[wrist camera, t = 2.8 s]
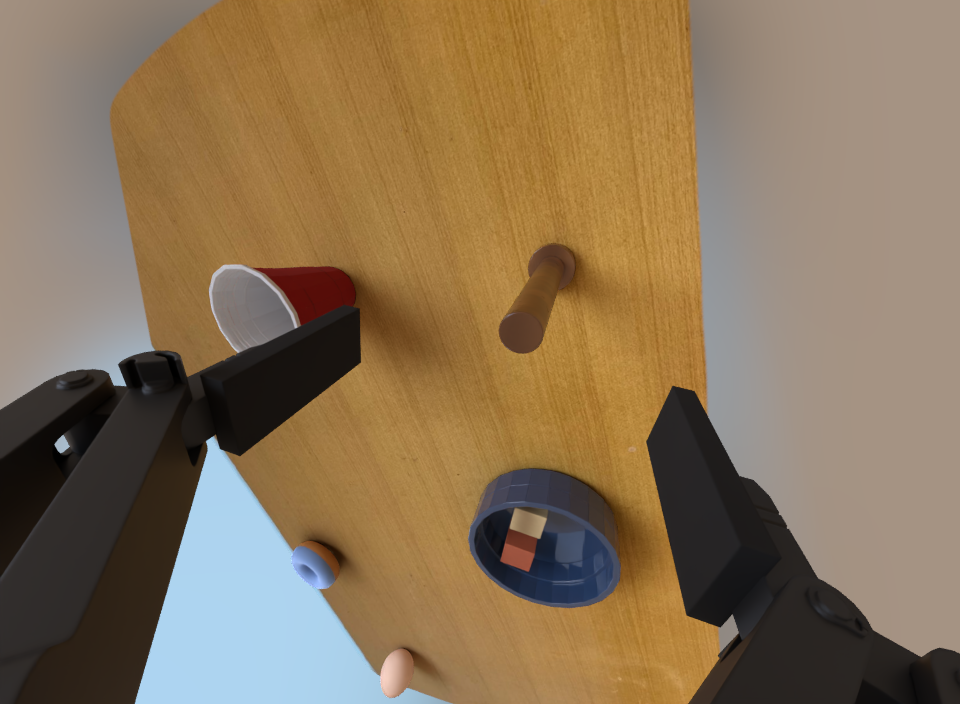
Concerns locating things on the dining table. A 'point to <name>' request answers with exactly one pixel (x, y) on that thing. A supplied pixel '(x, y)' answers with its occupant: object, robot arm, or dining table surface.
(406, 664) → the egg
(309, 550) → the doughnut
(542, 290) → the muddler
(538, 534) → the birch block
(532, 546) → the terracotta block
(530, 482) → the bowl
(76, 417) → the robot arm
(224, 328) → the plastic cup
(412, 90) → the dining table surface
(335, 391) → the dining table surface
